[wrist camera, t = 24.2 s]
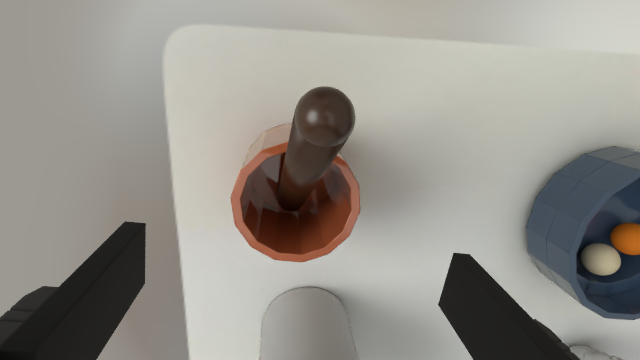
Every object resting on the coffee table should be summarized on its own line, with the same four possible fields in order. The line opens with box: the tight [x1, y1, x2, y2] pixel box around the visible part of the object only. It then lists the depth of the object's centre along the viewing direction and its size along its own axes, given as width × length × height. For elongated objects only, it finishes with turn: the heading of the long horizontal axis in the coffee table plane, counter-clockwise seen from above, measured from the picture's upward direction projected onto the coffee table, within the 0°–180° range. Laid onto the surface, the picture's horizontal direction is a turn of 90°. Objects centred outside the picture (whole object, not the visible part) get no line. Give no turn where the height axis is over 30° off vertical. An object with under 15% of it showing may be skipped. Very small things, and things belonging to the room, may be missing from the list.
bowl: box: [526, 146, 640, 320], centre depth 32 cm, size 14×14×6 cm
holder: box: [231, 123, 360, 262], centre depth 27 cm, size 8×8×8 cm
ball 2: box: [610, 223, 640, 255], centre depth 33 cm, size 3×3×3 cm
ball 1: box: [581, 243, 621, 276], centre depth 34 cm, size 3×3×3 cm
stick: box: [277, 87, 355, 211], centre depth 22 cm, size 2×2×18 cm
